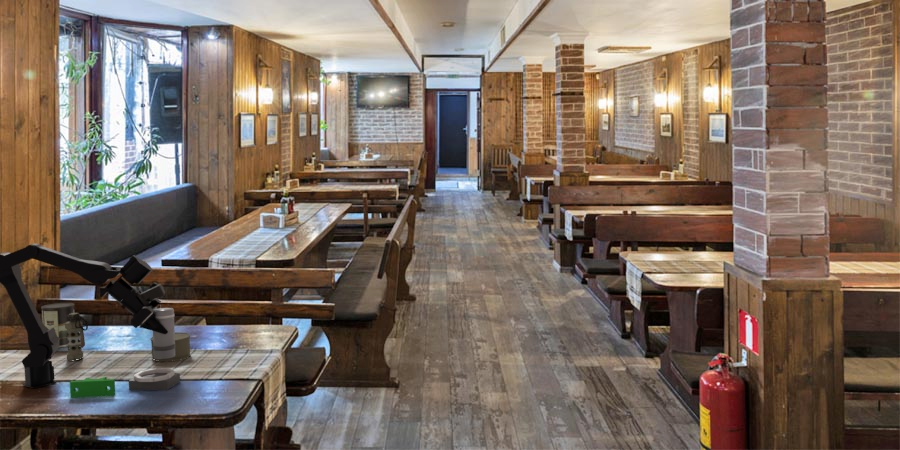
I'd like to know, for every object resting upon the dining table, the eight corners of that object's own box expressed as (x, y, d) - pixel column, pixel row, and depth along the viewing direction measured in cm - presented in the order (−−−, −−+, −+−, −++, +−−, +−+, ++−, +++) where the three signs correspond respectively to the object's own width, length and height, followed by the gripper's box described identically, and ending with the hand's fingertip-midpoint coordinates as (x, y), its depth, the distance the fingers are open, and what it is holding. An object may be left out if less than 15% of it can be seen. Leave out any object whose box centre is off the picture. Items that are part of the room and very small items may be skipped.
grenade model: (82, 361, 232) (79, 315, 230) (63, 360, 233) (60, 314, 232) (95, 356, 238) (93, 311, 237) (77, 355, 239) (75, 311, 238)
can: (198, 353, 240) (197, 333, 240) (175, 363, 229) (174, 341, 228) (167, 351, 244) (167, 331, 243) (143, 360, 232) (142, 339, 232)
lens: (161, 360, 210) (159, 312, 209) (148, 357, 214) (146, 310, 213) (180, 355, 216) (178, 309, 215) (167, 352, 219) (165, 306, 218)
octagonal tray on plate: (127, 390, 200) (126, 378, 200) (144, 380, 210) (144, 368, 210) (165, 390, 200) (165, 378, 199) (181, 380, 210) (181, 368, 209)
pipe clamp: (118, 392, 200) (118, 376, 199) (114, 396, 196) (113, 380, 196) (75, 394, 198) (75, 377, 198) (70, 398, 195) (69, 381, 194)
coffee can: (78, 340, 262) (76, 301, 261) (74, 346, 252) (72, 306, 251) (45, 342, 258) (43, 303, 257) (41, 349, 248) (39, 308, 247)
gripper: (141, 280, 203) (184, 317, 206) (152, 271, 221) (191, 305, 224) (112, 309, 202) (156, 345, 205) (125, 298, 220) (165, 331, 223)
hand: (168, 330), depth 214 cm, fingers closed on lens, 6 cm apart
